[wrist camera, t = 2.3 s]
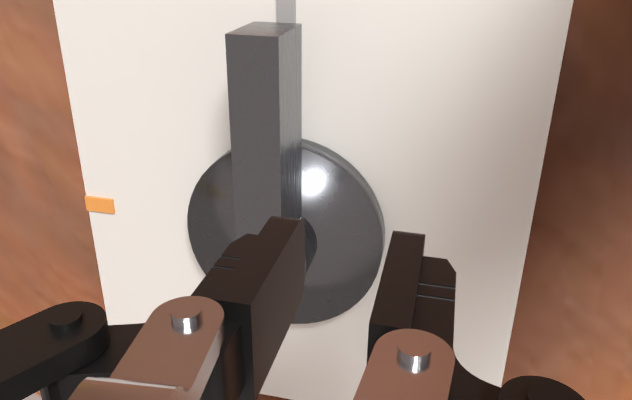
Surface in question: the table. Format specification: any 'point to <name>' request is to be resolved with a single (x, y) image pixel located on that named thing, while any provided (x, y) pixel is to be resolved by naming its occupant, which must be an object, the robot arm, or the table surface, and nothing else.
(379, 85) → the dial plate
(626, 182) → the table surface
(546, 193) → the table surface
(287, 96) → the dial
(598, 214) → the table surface
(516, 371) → the table surface
